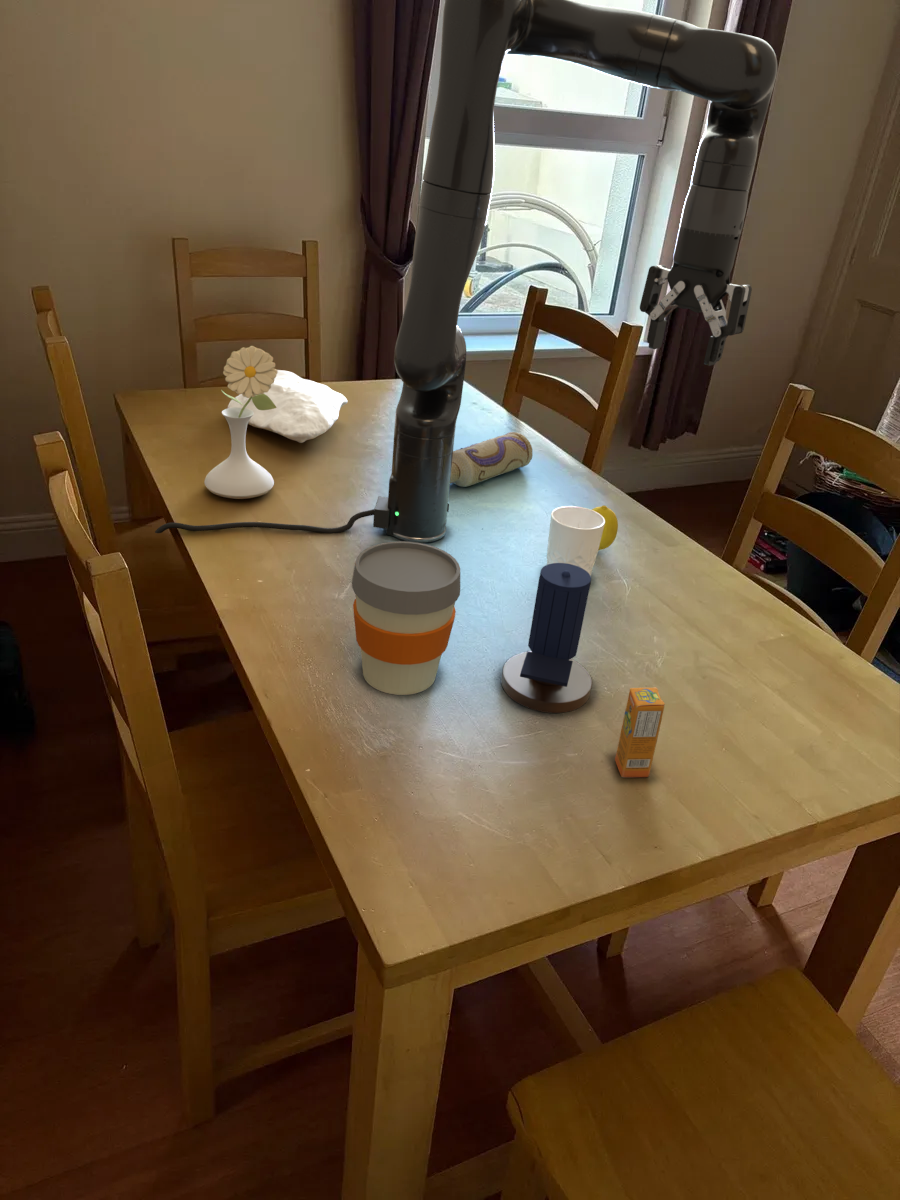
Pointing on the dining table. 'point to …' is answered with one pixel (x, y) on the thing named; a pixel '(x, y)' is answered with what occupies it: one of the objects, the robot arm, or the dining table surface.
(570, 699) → the paper towel holder
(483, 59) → the robot arm
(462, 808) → the dining table surface
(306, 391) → the crumpled cloth
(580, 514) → the white cup
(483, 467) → the decorative bottle
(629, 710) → the supplement box
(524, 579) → the dining table surface
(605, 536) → the lemon
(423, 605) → the reusable coffee cup
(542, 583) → the navy lidded canister
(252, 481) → the flower in vase
